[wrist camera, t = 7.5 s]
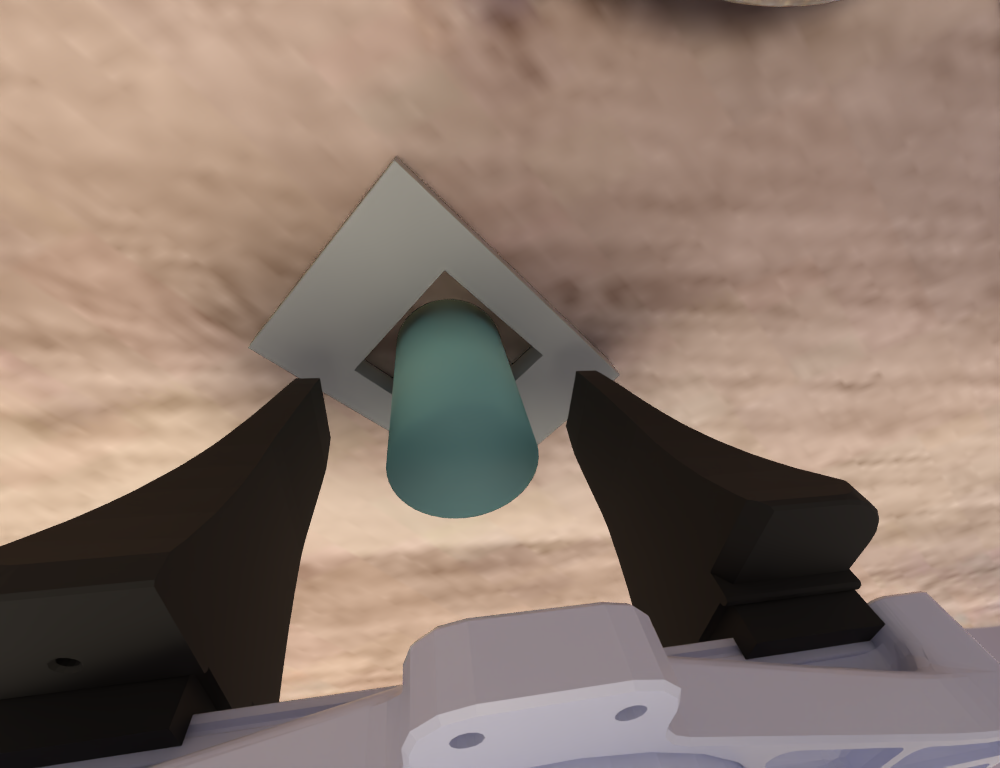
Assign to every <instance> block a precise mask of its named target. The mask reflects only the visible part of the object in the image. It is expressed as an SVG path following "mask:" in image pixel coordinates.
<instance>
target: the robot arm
mask: <svg viewBox="0 0 1000 768" xmlns="http://www.w3.org/2000/svg"><path fill="white" fill-rule="evenodd" d="M566 427H567V431H568V434H569V438H570V441H571V445H572V448H573V451H574V454H575V456H576V459H577V461H578V463H579V465H580V468H581V470H582V472H583V474H584V476H585V478H586V480H587V483H588V485H589V487H590V489H591V491H592V493H593V495H594V497H595V500H596V502H597V504H598V506H599V508H600V510H601V512H602V514H603V517H604V519H605V522H606V524H607V527H608V529H609V532H610V535H611V538H612V541H613V544H614V547H615V550H616V553H617V556H618V559H619V562H620V565H621V568H622V572H623V575H624V578H625V581H626V584H627V588H628V591H629V595H630V598H631V602H632V605H633V606H632V605H630V604H627V603H609V602H599V603H591V604H583V605H574V606H566V607H558V608H549V609H541V610H533V611H525V612H516V613H508V614H500V615H491V616H483V617H475V618H467V619H463V620H459V621H456V622H452V623H448V624H445V625H441V626H437V627H436V628H434V629H433V630H431V631H430V632H428V633H427V634H425V635H424V636H423V637H421V638H420V639H418V640H417V641H416V642H414V643H413V644H412V645H411V646H410V649H409V651H408V653H407V656H406V658H405V661H404V663H403V685H397V686H390V687H383V688H376V689H369V690H362V691H355V692H348V693H341V694H334V695H327V696H320V697H313V698H306V699H299V700H292V701H285V702H279V698H280V689H281V681H282V673H283V666H284V659H285V652H286V645H287V638H288V631H289V624H290V618H291V612H292V606H293V600H294V593H295V588H296V582H297V576H298V571H299V565H300V560H301V555H302V551H303V547H304V543H305V539H306V535H307V532H308V529H309V525H310V522H311V519H312V515H313V512H314V509H315V505H316V502H317V499H318V495H319V492H320V489H321V485H322V482H323V478H324V475H325V471H326V466H327V460H328V453H329V446H330V438H331V437H330V432H329V426H328V421H327V415H326V409H325V404H324V398H323V392H322V387H321V381H320V378H300V379H295V380H294V381H292V382H291V383H290V384H289V385H287V386H286V387H285V388H284V389H283V390H282V391H280V392H279V393H278V394H277V395H276V396H275V397H274V398H272V399H271V400H270V401H269V402H268V403H267V404H265V405H264V406H263V407H262V408H261V409H259V410H258V411H257V412H256V413H255V414H253V415H252V416H251V417H250V418H249V419H247V420H246V421H245V422H243V423H242V424H241V425H239V426H238V427H237V428H235V429H234V430H233V431H232V432H230V433H229V434H228V435H226V436H225V437H224V438H222V439H221V440H220V441H218V442H217V443H215V444H214V445H212V446H211V447H209V448H208V449H206V450H205V451H203V452H202V453H200V454H199V455H197V456H196V457H194V458H192V459H191V460H189V461H187V462H186V463H184V464H183V465H181V466H179V467H178V468H176V469H174V470H172V471H170V472H168V473H167V474H165V475H163V476H161V477H159V478H157V479H155V480H154V481H152V482H150V483H148V484H146V485H144V486H142V487H140V488H139V489H137V490H135V491H133V492H131V493H129V494H127V495H125V496H122V497H120V498H118V499H116V500H114V501H112V502H110V503H108V504H105V505H103V506H101V507H99V508H96V509H94V510H92V511H89V512H87V513H85V514H83V515H80V516H78V517H76V518H73V519H71V520H68V521H66V522H63V523H61V524H58V525H56V526H53V527H50V528H48V529H45V530H43V531H40V532H37V533H35V534H32V535H30V536H27V537H24V538H22V539H19V540H16V541H14V542H11V543H8V544H6V545H3V546H0V768H992V767H993V766H995V765H997V764H998V763H1000V663H999V662H998V661H997V660H996V659H995V658H994V657H993V656H992V655H991V654H990V653H989V652H988V651H987V650H986V649H985V648H983V647H982V646H981V645H980V644H979V643H978V642H977V641H976V640H975V639H974V638H973V637H972V636H971V635H970V634H969V633H968V632H967V631H966V630H965V629H964V628H963V627H962V626H961V625H960V624H959V623H958V622H956V621H955V620H954V619H953V618H952V617H951V616H950V615H949V614H948V613H947V612H946V611H945V610H944V609H943V608H942V607H941V606H940V605H939V604H938V603H937V602H936V601H935V600H934V599H933V598H932V597H931V596H929V595H928V594H927V593H926V592H921V591H919V592H911V593H904V594H896V595H889V596H883V597H879V598H876V599H874V600H872V601H870V602H869V603H866V602H865V601H864V600H863V598H862V597H861V596H860V595H859V594H858V593H857V592H856V591H855V590H856V589H859V588H860V587H861V582H860V580H859V579H858V578H857V577H856V576H855V575H854V574H853V573H852V572H851V570H850V569H849V568H850V567H851V566H852V564H853V563H854V562H855V561H856V559H857V558H858V557H859V555H860V554H861V553H862V551H863V550H864V549H865V548H866V546H867V545H868V544H869V542H870V541H871V539H872V538H873V536H874V534H875V533H876V530H877V526H878V523H879V516H878V511H877V509H876V508H875V507H874V506H873V505H872V504H871V503H870V502H869V501H868V500H867V499H866V498H864V497H863V496H862V495H861V494H860V493H859V492H858V491H857V490H856V489H854V488H853V487H852V486H851V485H850V484H849V483H848V482H846V481H845V480H841V479H837V478H833V477H829V476H825V475H821V474H817V473H813V472H809V471H805V470H801V469H797V468H794V467H790V466H787V465H784V464H781V463H777V462H774V461H771V460H768V459H765V458H762V457H759V456H756V455H753V454H750V453H748V452H745V451H742V450H740V449H737V448H735V447H732V446H730V445H727V444H725V443H722V442H720V441H718V440H715V439H713V438H711V437H709V436H707V435H704V434H702V433H700V432H698V431H696V430H694V429H692V428H690V427H688V426H686V425H684V424H682V423H680V422H678V421H677V420H675V419H673V418H671V417H670V416H668V415H666V414H664V413H663V412H661V411H659V410H658V409H656V408H654V407H653V406H651V405H650V404H648V403H646V402H645V401H643V400H642V399H640V398H639V397H637V396H635V395H634V394H632V393H631V392H629V391H628V390H626V389H625V388H623V387H622V386H620V385H619V384H617V383H616V382H614V381H613V380H611V379H610V378H608V377H607V376H605V375H603V374H602V373H600V372H598V371H596V370H593V371H576V375H575V380H574V386H573V391H572V397H571V403H570V408H569V414H568V419H567V425H566Z"/></svg>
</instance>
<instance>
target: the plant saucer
mask: <svg viewBox="0 0 1000 768" xmlns="http://www.w3.org/2000/svg"><path fill="white" fill-rule="evenodd" d="M724 1H728V2H732V3H739V4H747V5H755V6H772V7H786V6H809V5H817V4H823V3H828V2H833V1H839V0H724Z"/></svg>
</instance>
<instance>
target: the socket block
mask: <svg viewBox="0 0 1000 768" xmlns="http://www.w3.org/2000/svg"><path fill="white" fill-rule="evenodd" d="M444 270H445V271H446V272H447V273H448V274H449V275H451V276H452V277H453V278H454V279H455V280H456V281H457V282H459V283H460V284H461V285H462V286H463V287H464V288H466V289H467V290H468V291H469V292H470V293H471V294H473V295H474V296H475V297H476V298H477V299H478V300H479V301H481V302H482V303H483V304H484V305H485V306H486V307H488V308H489V309H490V310H491V311H492V312H493V313H495V314H496V315H497V316H498V317H499V318H500V319H501V320H503V321H504V322H505V323H506V324H507V325H508V326H510V327H511V328H512V329H513V330H514V331H515V332H517V333H518V334H519V335H520V336H521V337H522V338H523V339H525V340H526V341H527V342H528V343H529V344H530V345H532V347H531V348H529V349H528V350H527V351H526V352H525V353H524V354H523V355H522V356H521V357H520V358H519V359H518V360H517V361H516V362H515V363H514V364H513V365H512V366H510V367H511V370H512V373H513V376H514V379H515V382H516V385H517V388H518V390H519V393H520V396H521V399H522V402H523V405H524V408H525V411H526V414H527V416H528V419H529V422H530V425H531V428H532V431H533V434H534V437H535V439H536V442H537V445H538V444H539V443H540V442H542V441H543V440H544V439H545V438H546V437H548V436H549V435H550V434H551V433H552V432H553V431H555V430H556V429H557V428H558V427H559V426H560V425H562V424H563V423H564V422H565V421H566V420H567V419H568V414H569V408H570V403H571V397H572V391H573V386H574V380H575V375H576V371H593V370H596V371H598V372H600V373H602V374H603V375H605V376H607V377H608V378H610V379H611V380H615V379H616V378H617V377H618V376H619V375H620V374H619V373H618V372H617V370H616V369H615V368H614V366H613V365H612V364H611V362H610V361H609V360H608V359H607V358H606V357H605V356H604V355H603V354H602V353H601V352H600V351H599V350H598V349H597V348H595V347H594V346H593V345H592V344H591V343H590V342H589V341H588V340H587V339H586V338H585V337H584V336H583V335H582V334H581V333H580V332H579V331H578V330H577V329H576V328H575V327H574V326H573V325H572V324H570V323H569V322H568V321H567V320H566V319H565V318H564V317H563V316H562V315H561V314H560V313H559V312H558V311H557V310H556V309H555V308H554V307H553V306H552V305H551V304H550V303H549V302H548V301H546V300H545V299H544V298H543V297H542V296H541V295H540V294H539V293H538V292H537V291H536V290H535V289H534V288H533V287H532V286H531V285H530V284H529V283H528V282H527V281H526V280H525V279H524V278H523V277H521V276H520V275H519V274H518V273H517V272H516V271H515V270H514V269H513V268H512V267H511V266H510V265H509V264H508V263H507V262H506V261H505V260H504V259H503V258H502V257H501V256H500V255H499V254H498V253H496V252H495V251H494V250H493V249H492V248H491V247H490V246H489V245H488V244H487V243H486V242H485V241H484V240H483V239H482V238H481V237H480V236H479V235H478V234H477V233H476V232H475V231H474V230H472V229H471V228H470V227H469V226H468V225H467V224H466V223H465V222H464V221H463V220H462V219H461V218H460V217H459V216H458V215H457V214H456V213H455V212H454V211H453V210H452V209H451V208H450V207H449V206H447V205H446V204H445V203H444V202H443V201H442V200H441V199H440V198H439V197H438V196H437V195H436V194H435V193H434V192H433V191H432V190H431V189H430V188H429V187H428V186H427V185H426V184H425V183H424V182H422V181H421V180H420V179H419V178H418V177H417V176H416V175H415V174H414V173H413V172H412V171H411V170H410V169H409V168H408V167H407V166H406V165H405V164H404V163H403V162H402V161H401V160H400V159H398V158H397V157H395V158H394V160H393V161H392V162H391V164H390V165H389V166H388V167H387V169H386V170H385V171H384V172H383V174H382V175H381V176H380V178H379V179H378V180H377V181H376V183H375V184H374V185H373V187H372V188H371V189H370V190H369V192H368V193H367V194H366V196H365V197H364V198H363V199H362V201H361V202H360V203H359V204H358V206H357V207H356V208H355V210H354V211H353V212H352V213H351V215H350V216H349V217H348V219H347V220H346V221H345V222H344V224H343V225H342V226H341V228H340V229H339V230H338V231H337V233H336V234H335V235H334V237H333V238H332V239H331V240H330V242H329V243H328V244H327V245H326V247H325V248H324V249H323V251H322V252H321V253H320V254H319V256H318V257H317V258H316V260H315V261H314V262H313V263H312V265H311V266H310V267H309V269H308V270H307V271H306V272H305V274H304V275H303V276H302V277H301V279H300V280H299V281H298V283H297V284H296V285H295V286H294V288H293V289H292V290H291V292H290V293H289V294H288V295H287V297H286V298H285V299H284V301H283V302H282V303H281V304H280V306H279V307H278V308H277V310H276V311H275V312H274V313H273V315H272V316H271V317H270V318H269V320H268V321H267V322H266V324H265V325H264V326H263V327H262V329H261V330H260V331H259V333H258V334H257V335H256V337H255V338H254V340H253V341H252V343H251V344H250V346H249V347H248V348H249V349H251V350H253V351H254V352H256V353H258V354H259V355H261V356H263V357H265V358H266V359H268V360H270V361H271V362H273V363H275V364H276V365H278V366H280V367H281V368H283V369H285V370H287V371H288V372H290V373H292V374H293V375H295V376H297V377H298V378H320V381H321V387H322V392H324V393H325V394H327V395H329V396H331V397H332V398H334V399H336V400H337V401H339V402H341V403H342V404H344V405H346V406H347V407H349V408H351V409H353V410H354V411H356V412H358V413H359V414H361V415H363V416H364V417H366V418H368V419H369V420H371V421H373V422H375V423H376V424H378V425H380V426H381V427H383V428H385V429H386V430H388V431H389V427H390V415H391V404H392V392H393V380H394V379H393V378H391V377H390V376H388V375H387V374H385V373H384V372H382V371H381V370H379V369H378V368H376V367H375V366H373V365H371V364H370V363H368V362H367V361H365V360H364V359H365V358H366V357H367V355H368V354H369V353H370V352H371V351H372V350H373V349H374V348H375V347H376V345H377V344H378V343H379V342H380V341H381V340H382V339H383V338H384V337H385V336H386V334H387V333H388V332H389V331H390V330H391V329H392V328H393V327H394V326H395V324H396V323H397V322H398V321H399V320H400V319H401V318H402V317H403V316H404V315H405V313H406V312H407V311H408V310H409V309H410V308H411V307H412V306H413V305H414V303H415V302H416V301H417V300H418V299H419V298H420V297H421V296H422V295H423V294H424V292H425V291H426V290H427V289H428V288H429V287H430V286H431V285H432V284H433V282H434V281H435V280H436V279H437V278H438V277H439V276H440V275H441V274H442V273H443V271H444Z"/></svg>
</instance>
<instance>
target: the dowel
mask: <svg viewBox="0 0 1000 768" xmlns="http://www.w3.org/2000/svg"><path fill="white" fill-rule="evenodd" d="M538 458H539V455H538V446H537V442H536V439H535V437H534V434H533V431H532V428H531V425H530V422H529V419H528V416H527V414H526V411H525V408H524V405H523V402H522V399H521V396H520V393H519V390H518V388H517V385H516V382H515V379H514V376H513V373H512V370H511V367H510V365H509V362H508V359H507V356H506V353H505V350H504V347H503V344H502V342H501V339H500V336H499V333H498V330H497V328H496V326H495V324H494V322H493V321H492V319H491V318H490V317H489V316H488V315H487V314H486V313H485V312H484V311H483V310H481V309H480V308H479V307H477V306H475V305H473V304H471V303H468V302H465V301H461V300H454V299H445V300H438V301H434V302H430V303H428V304H425V305H423V306H421V307H420V308H418V309H417V310H415V311H414V312H413V313H412V314H411V315H410V316H408V318H407V319H406V320H405V321H404V323H403V325H402V326H401V328H400V331H399V333H398V337H397V345H396V357H395V368H394V380H393V392H392V404H391V415H390V427H389V439H388V450H387V462H386V471H387V477H388V480H389V483H390V485H391V487H392V489H393V490H394V492H395V493H396V495H397V496H398V497H399V498H400V499H401V500H402V501H403V502H405V503H406V504H407V505H409V506H410V507H412V508H414V509H415V510H418V511H420V512H422V513H425V514H428V515H432V516H436V517H442V518H468V517H474V516H479V515H483V514H486V513H489V512H492V511H494V510H496V509H499V508H501V507H503V506H504V505H506V504H508V503H509V502H511V501H512V500H513V499H515V498H516V497H517V496H518V495H519V494H521V493H522V492H523V491H524V489H525V488H526V487H527V486H528V484H529V483H530V481H531V480H532V478H533V476H534V474H535V472H536V469H537V465H538Z"/></svg>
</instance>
